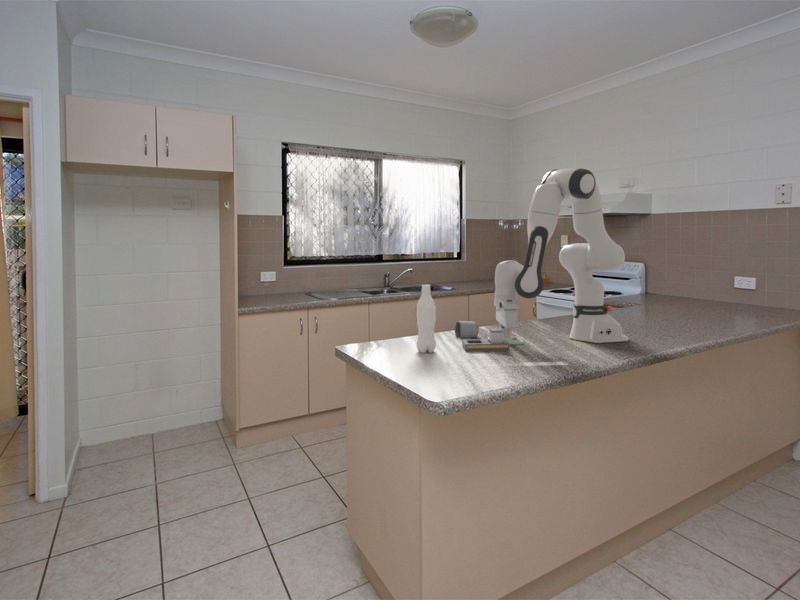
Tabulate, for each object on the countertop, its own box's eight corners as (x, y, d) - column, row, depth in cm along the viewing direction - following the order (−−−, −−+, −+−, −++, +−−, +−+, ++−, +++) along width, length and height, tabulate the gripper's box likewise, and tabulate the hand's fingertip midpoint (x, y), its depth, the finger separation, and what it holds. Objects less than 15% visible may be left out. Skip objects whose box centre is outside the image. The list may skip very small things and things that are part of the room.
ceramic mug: (479, 339, 203) (479, 321, 202) (461, 341, 200) (461, 322, 200) (468, 335, 213) (468, 317, 212) (451, 336, 211) (451, 318, 210)
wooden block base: (504, 348, 188) (504, 339, 187) (509, 353, 180) (509, 343, 179) (462, 348, 187) (462, 339, 187) (465, 353, 179) (465, 344, 179)
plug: (509, 341, 197) (509, 324, 196) (511, 344, 193) (511, 326, 192) (498, 341, 197) (499, 324, 196) (501, 344, 193) (501, 326, 192)
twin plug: (500, 346, 186) (500, 328, 185) (502, 349, 182) (502, 330, 181) (489, 346, 186) (489, 328, 185) (491, 349, 181) (491, 330, 181)
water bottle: (439, 350, 184) (439, 284, 181) (430, 354, 178) (430, 286, 175) (422, 348, 188) (422, 283, 185) (413, 352, 182) (412, 285, 179)
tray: (517, 340, 200) (517, 336, 199) (523, 346, 190) (523, 341, 190) (487, 341, 200) (487, 336, 199) (492, 347, 190) (492, 342, 189)
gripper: (492, 298, 203) (492, 331, 204) (503, 305, 182) (503, 342, 184) (507, 298, 203) (507, 331, 205) (520, 305, 182) (519, 341, 184)
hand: (505, 336), depth 194 cm, fingers closed on plug, 4 cm apart
